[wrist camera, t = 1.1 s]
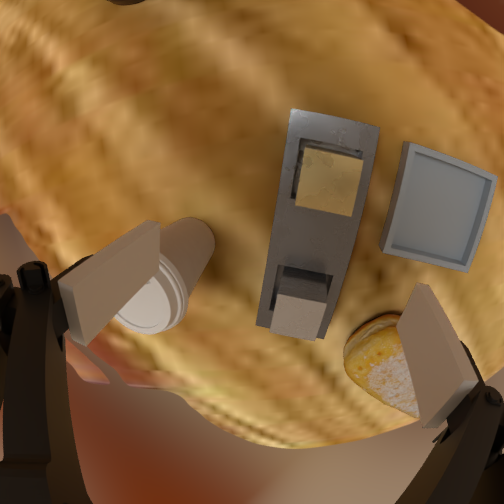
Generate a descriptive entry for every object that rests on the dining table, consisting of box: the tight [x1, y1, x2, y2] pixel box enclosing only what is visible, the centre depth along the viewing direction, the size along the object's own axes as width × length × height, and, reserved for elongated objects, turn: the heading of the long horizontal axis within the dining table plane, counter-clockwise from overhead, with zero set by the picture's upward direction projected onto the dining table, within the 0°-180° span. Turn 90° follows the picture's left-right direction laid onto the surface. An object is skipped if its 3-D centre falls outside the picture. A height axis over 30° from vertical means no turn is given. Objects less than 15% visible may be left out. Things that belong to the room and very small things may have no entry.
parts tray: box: [379, 141, 498, 273], centre depth 29 cm, size 13×13×2 cm
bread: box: [343, 314, 420, 418], centre depth 36 cm, size 13×26×8 cm, turn 58°
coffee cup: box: [114, 218, 215, 334], centre depth 32 cm, size 10×10×15 cm
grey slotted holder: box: [256, 108, 380, 339], centre depth 33 cm, size 26×9×4 cm, turn 173°
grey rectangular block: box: [270, 266, 327, 341], centre depth 33 cm, size 5×5×8 cm
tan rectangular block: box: [295, 144, 363, 217], centre depth 27 cm, size 5×5×8 cm
